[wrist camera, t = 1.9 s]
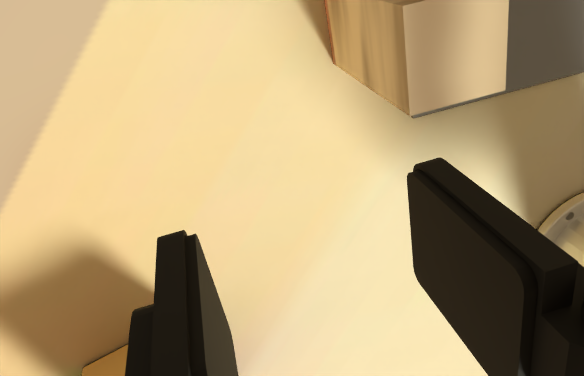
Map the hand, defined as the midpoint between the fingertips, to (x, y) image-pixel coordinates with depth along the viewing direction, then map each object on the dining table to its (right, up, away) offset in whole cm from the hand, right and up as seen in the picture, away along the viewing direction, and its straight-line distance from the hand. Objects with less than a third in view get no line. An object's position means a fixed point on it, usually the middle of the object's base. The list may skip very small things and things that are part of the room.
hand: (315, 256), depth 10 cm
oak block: (+4, +13, +21) cm, 25 cm away
